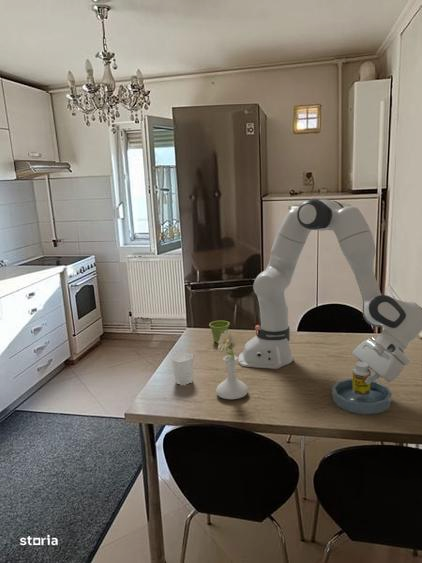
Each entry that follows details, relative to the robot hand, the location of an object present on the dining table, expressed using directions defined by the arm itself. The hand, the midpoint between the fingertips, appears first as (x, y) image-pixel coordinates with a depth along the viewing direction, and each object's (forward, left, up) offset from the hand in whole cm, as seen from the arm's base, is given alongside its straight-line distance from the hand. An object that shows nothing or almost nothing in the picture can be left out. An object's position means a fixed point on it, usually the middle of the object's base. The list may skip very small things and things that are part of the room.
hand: (359, 378), depth 142 cm
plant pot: (-51, +56, -8) cm, 77 cm away
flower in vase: (-42, +3, -8) cm, 43 cm away
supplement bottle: (+1, 0, -6) cm, 6 cm away
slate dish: (+1, 0, -8) cm, 8 cm away
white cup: (-61, +14, -8) cm, 64 cm away
